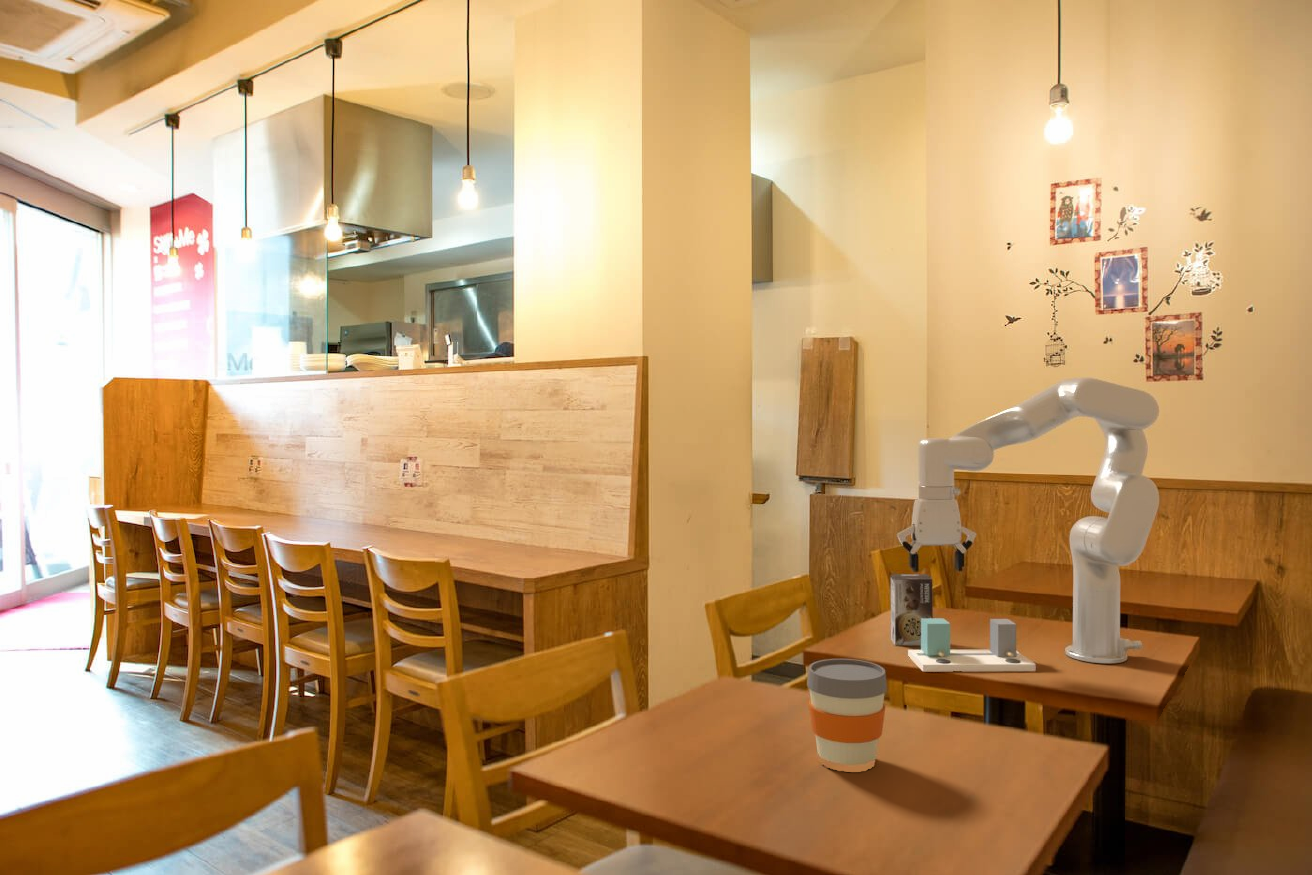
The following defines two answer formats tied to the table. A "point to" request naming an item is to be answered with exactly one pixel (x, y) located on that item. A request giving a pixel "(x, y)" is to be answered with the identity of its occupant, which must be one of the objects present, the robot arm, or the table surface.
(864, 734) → the reusable coffee cup
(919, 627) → the coffee box
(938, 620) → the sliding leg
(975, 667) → the board
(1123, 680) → the table surface
